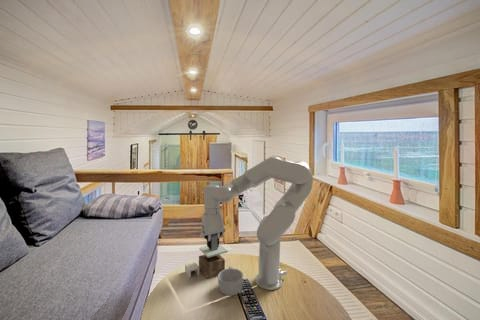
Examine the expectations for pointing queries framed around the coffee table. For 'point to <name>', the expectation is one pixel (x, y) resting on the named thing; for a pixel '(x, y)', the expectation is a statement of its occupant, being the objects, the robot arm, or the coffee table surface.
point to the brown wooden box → (211, 265)
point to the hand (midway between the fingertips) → (213, 246)
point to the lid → (213, 248)
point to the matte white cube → (191, 268)
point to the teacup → (230, 281)
